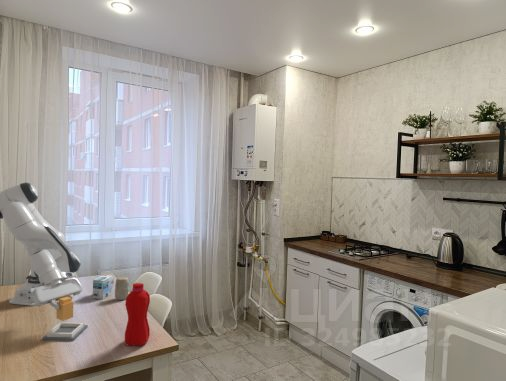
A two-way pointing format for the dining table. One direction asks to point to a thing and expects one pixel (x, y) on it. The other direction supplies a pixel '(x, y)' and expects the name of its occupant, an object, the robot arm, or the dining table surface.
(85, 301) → the dining table surface
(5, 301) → the dining table surface
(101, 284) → the light bulb box
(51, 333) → the base
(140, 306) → the water bottle
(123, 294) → the carving
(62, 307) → the stepped orange block
